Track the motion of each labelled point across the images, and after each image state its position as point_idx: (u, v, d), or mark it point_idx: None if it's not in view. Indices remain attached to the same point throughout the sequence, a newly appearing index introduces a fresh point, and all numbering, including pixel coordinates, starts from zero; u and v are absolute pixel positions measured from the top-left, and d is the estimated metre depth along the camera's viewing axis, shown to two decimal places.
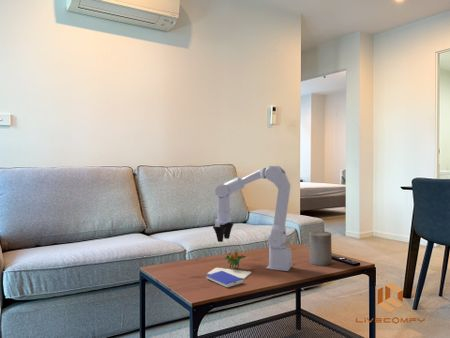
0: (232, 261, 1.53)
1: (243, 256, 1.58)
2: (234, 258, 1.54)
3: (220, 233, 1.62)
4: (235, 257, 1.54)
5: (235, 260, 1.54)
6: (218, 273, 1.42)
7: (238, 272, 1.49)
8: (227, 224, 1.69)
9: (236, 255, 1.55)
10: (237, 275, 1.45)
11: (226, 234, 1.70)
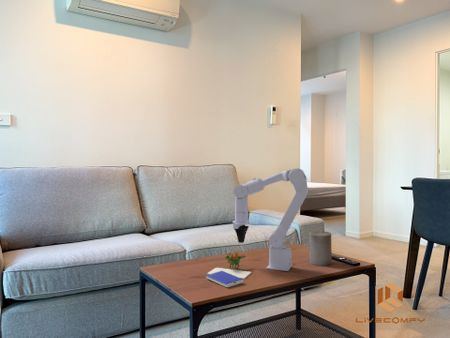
0: (232, 261, 1.53)
1: (243, 256, 1.58)
2: (234, 258, 1.54)
3: (241, 234, 1.60)
4: (235, 257, 1.54)
5: (235, 260, 1.54)
6: (218, 273, 1.42)
7: (238, 272, 1.49)
8: None
9: (236, 255, 1.55)
10: (237, 275, 1.45)
11: None
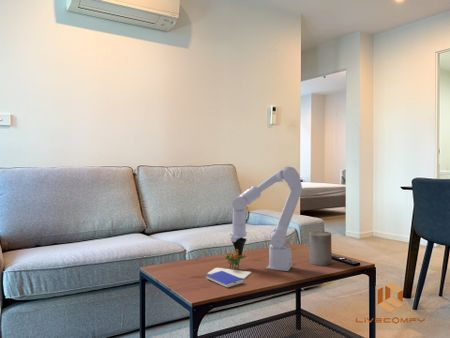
0: (232, 261, 1.53)
1: (243, 256, 1.58)
2: (234, 258, 1.53)
3: (239, 246, 1.58)
4: (235, 257, 1.54)
5: (235, 260, 1.53)
6: (218, 273, 1.42)
7: (238, 272, 1.49)
8: (240, 239, 1.59)
9: (236, 255, 1.55)
10: (237, 275, 1.45)
11: None
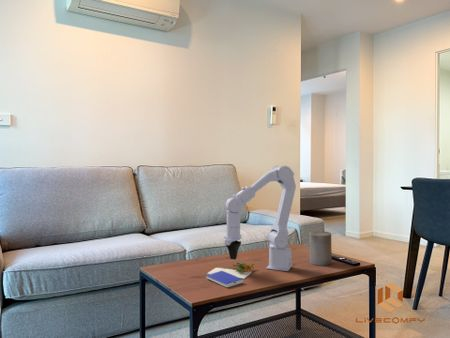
0: None
1: None
2: (243, 270, 1.50)
3: (233, 250, 1.52)
4: (245, 270, 1.50)
5: None
6: (218, 273, 1.42)
7: (238, 272, 1.49)
8: None
9: (247, 269, 1.50)
10: (237, 275, 1.45)
11: None
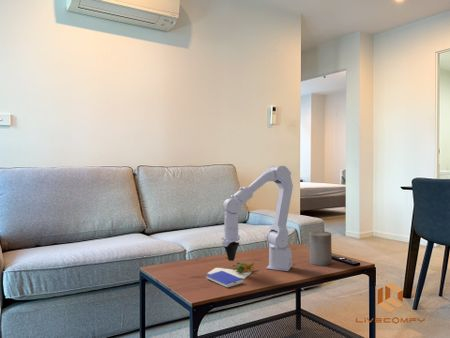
0: None
1: (252, 264, 1.54)
2: (243, 271, 1.50)
3: (231, 251, 1.49)
4: (245, 270, 1.50)
5: None
6: (218, 273, 1.42)
7: (238, 272, 1.49)
8: None
9: (247, 269, 1.50)
10: (237, 275, 1.45)
11: None
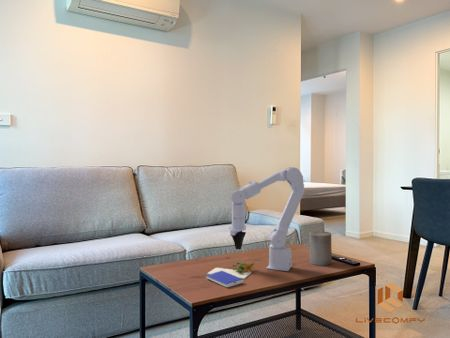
0: None
1: (252, 264, 1.54)
2: (243, 271, 1.50)
3: (238, 240, 1.57)
4: (245, 270, 1.50)
5: None
6: (218, 273, 1.42)
7: (238, 272, 1.49)
8: None
9: (247, 269, 1.50)
10: (237, 275, 1.45)
11: None
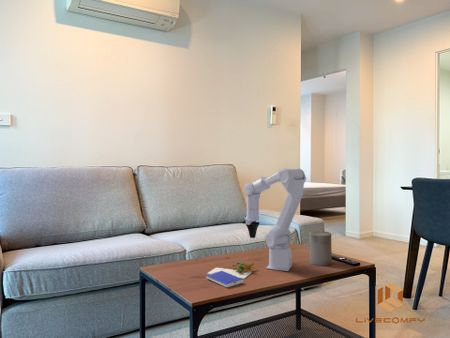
0: None
1: (252, 264, 1.54)
2: (243, 271, 1.50)
3: (252, 229, 1.69)
4: (245, 270, 1.50)
5: None
6: (218, 273, 1.42)
7: (238, 272, 1.49)
8: None
9: (247, 269, 1.50)
10: (237, 275, 1.45)
11: None
